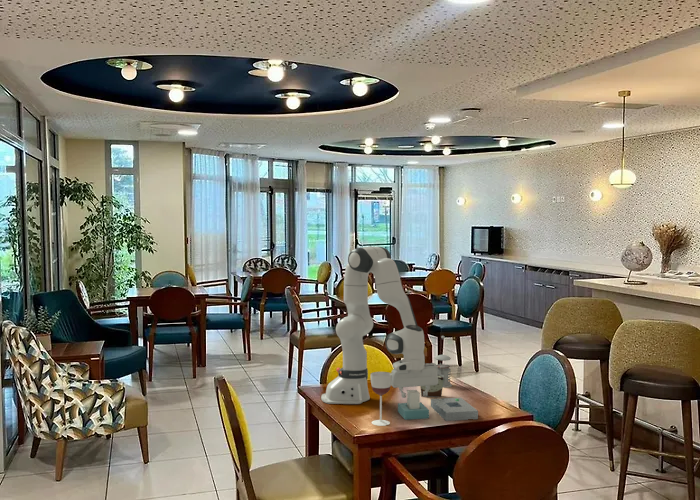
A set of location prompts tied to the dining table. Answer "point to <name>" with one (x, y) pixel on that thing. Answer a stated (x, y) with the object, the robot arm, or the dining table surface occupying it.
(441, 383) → the food container
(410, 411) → the teal socket base
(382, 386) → the wineglass
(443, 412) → the box
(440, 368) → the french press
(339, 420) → the dining table surface
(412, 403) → the plug
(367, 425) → the dining table surface
